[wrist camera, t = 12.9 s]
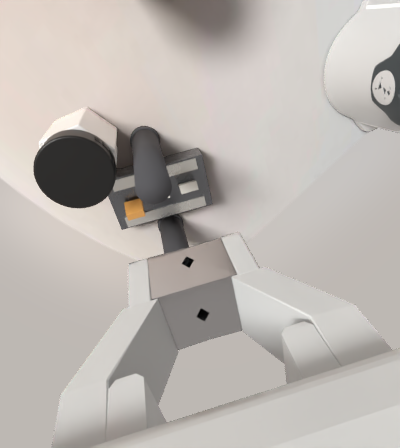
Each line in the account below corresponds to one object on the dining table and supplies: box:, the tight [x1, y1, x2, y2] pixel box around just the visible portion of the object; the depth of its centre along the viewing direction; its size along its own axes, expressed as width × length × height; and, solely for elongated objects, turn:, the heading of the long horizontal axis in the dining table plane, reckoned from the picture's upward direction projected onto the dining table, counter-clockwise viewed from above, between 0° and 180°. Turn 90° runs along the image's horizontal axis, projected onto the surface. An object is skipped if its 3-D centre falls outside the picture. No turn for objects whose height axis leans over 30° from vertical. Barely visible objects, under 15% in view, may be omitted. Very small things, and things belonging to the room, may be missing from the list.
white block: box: [178, 180, 199, 194], centre depth 46 cm, size 2×1×2 cm, turn 102°
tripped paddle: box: [124, 199, 145, 220], centre depth 46 cm, size 2×1×2 cm, turn 102°
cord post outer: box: [158, 214, 189, 254], centre depth 47 cm, size 4×4×16 cm
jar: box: [34, 107, 117, 208], centre depth 40 cm, size 9×8×12 cm
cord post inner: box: [130, 126, 172, 204], centre depth 39 cm, size 4×4×16 cm
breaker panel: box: [108, 148, 212, 230], centre depth 48 cm, size 14×8×3 cm, turn 102°
